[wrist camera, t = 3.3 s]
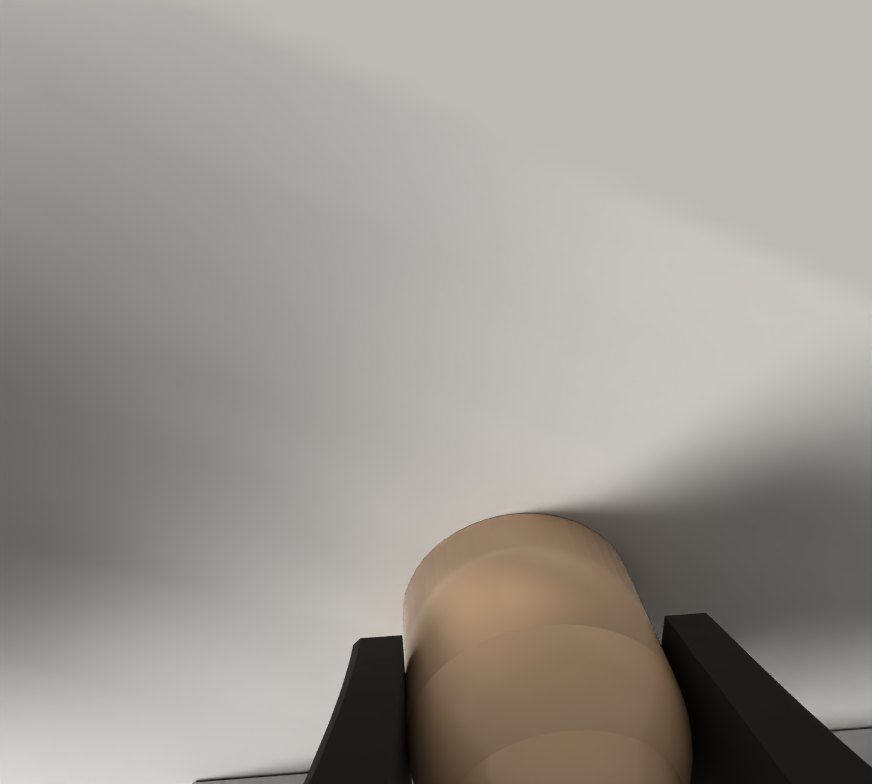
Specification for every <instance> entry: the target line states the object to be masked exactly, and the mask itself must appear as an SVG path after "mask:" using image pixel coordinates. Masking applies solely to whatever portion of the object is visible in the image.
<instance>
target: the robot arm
mask: <svg viewBox="0 0 872 784" xmlns="http://www.w3.org/2000/svg"><path fill="white" fill-rule="evenodd" d="M661 647H662V649H663V651H664V653H665V656H666V658H667V660H668V662H669V664H670V667H671V669H672V671H673V673H674V675H675V678H676V680H677V682H678V685H679V687H680V690H681V693H682V696H683V698H684V702H685V705H686V708H687V711H688V716H689V721H690V726H691V733H692V745H693V764H692V774H691V783H690V784H872V767H871V766H870V765H869V764H867V763H866V762H865V761H864V760H863V759H862V758H861V757H859V756H858V755H857V754H856V753H855V752H854V751H853V750H851V749H850V748H849V747H848V746H847V745H846V744H844V743H843V742H842V741H841V740H840V739H839V738H838V737H837V736H836V735H834V734H833V733H832V732H831V731H830V730H829V729H828V728H827V727H826V726H824V725H823V724H822V723H821V722H820V721H819V720H818V719H817V718H816V717H815V716H813V715H812V714H811V713H810V712H809V711H808V710H807V709H806V708H805V707H804V706H802V705H801V704H800V703H799V702H798V701H797V700H796V699H795V698H794V697H793V696H792V695H791V694H790V693H788V692H787V691H786V690H785V689H784V688H783V687H782V686H781V685H780V684H779V683H778V682H777V681H776V680H775V679H774V678H773V677H772V676H771V675H770V674H769V673H768V672H766V671H765V670H764V669H763V668H762V667H761V666H760V665H759V664H758V663H757V662H756V661H755V660H754V659H753V658H752V657H751V656H750V655H749V654H748V653H747V652H746V651H745V650H744V649H743V648H742V647H741V646H740V645H739V644H738V643H737V642H736V641H735V640H734V639H732V638H731V637H730V636H729V635H728V634H727V633H726V632H725V631H724V630H723V629H722V628H721V627H720V626H719V625H718V624H717V623H716V622H715V621H714V620H713V619H712V618H711V617H710V616H709V615H707V614H706V613H699V614H686V615H672V616H665V619H664V628H663V636H662V644H661ZM303 784H412V776H411V772H410V767H409V761H408V754H407V723H406V682H405V664H404V652H403V639H402V635H400V636H386V637H372V638H360V639H359V640H358V641H357V642H356V643H355V644H354V645H353V649H352V653H351V658H350V662H349V665H348V669H347V672H346V676H345V679H344V682H343V685H342V688H341V691H340V694H339V697H338V700H337V703H336V705H335V708H334V711H333V714H332V716H331V719H330V722H329V724H328V727H327V729H326V732H325V734H324V736H323V739H322V741H321V744H320V746H319V748H318V751H317V753H316V756H315V758H314V760H313V763H312V765H311V768H310V770H309V772H308V774H307V777H306V779H305V781H304V783H303Z"/></svg>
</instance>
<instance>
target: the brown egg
mask: <svg viewBox="0 0 872 784" xmlns="http://www.w3.org/2000/svg"><path fill="white" fill-rule="evenodd" d="M403 622H404V664H405V682H406V723H407V754H408V761H409V767H410V772H411V776H412V780H413V783H414V784H690V783H691V774H692V764H693V745H692V733H691V726H690V721H689V716H688V711H687V708H686V705H685V702H684V698H683V696H682V693H681V690H680V687H679V685H678V682H677V680H676V678H675V675H674V673H673V671H672V669H671V667H670V664H669V662H668V660H667V658H666V656H665V653H664V651H663V649H662V647H661V645H660V642H659V640H658V638H657V636H656V633H655V631H654V629H653V627H652V625H651V622H650V620H649V618H648V616H647V614H646V611H645V609H644V607H643V605H642V603H641V600H640V598H639V596H638V594H637V591H636V589H635V587H634V585H633V583H632V580H631V578H630V576H629V574H628V572H627V569H626V567H625V565H624V563H623V562H622V560H621V558H620V556H619V555H618V553H617V552H616V551H615V550H614V548H613V547H612V546H611V545H610V544H609V543H608V542H607V541H606V540H605V539H604V538H603V537H601V536H600V535H598V534H597V533H596V532H594V531H593V530H591V529H589V528H587V527H585V526H583V525H581V524H579V523H577V522H574V521H571V520H568V519H565V518H561V517H557V516H552V515H545V514H534V513H533V514H512V515H504V516H499V517H495V518H490V519H486V520H483V521H481V522H478V523H475V524H472V525H470V526H468V527H466V528H464V529H462V530H460V531H458V532H456V533H454V534H453V535H451V536H450V537H448V538H446V539H445V540H444V541H442V542H441V543H440V544H439V545H437V546H436V547H435V548H434V549H433V550H432V551H431V552H430V553H429V554H428V555H427V556H426V557H425V558H424V559H423V561H422V562H421V563H420V565H419V566H418V567H417V569H416V570H415V572H414V574H413V576H412V578H411V580H410V582H409V585H408V587H407V590H406V593H405V599H404V605H403Z"/></svg>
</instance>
